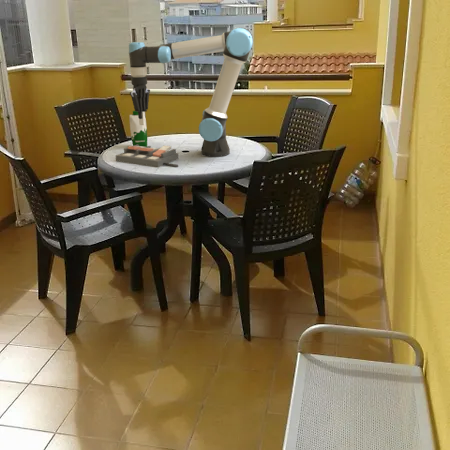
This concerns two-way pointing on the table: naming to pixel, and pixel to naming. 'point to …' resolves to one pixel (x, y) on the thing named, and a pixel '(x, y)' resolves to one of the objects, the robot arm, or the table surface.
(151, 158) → the power strip
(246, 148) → the table surface
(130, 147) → the rocker
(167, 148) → the rocker
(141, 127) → the milk carton
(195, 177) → the table surface
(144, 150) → the middle rocker
